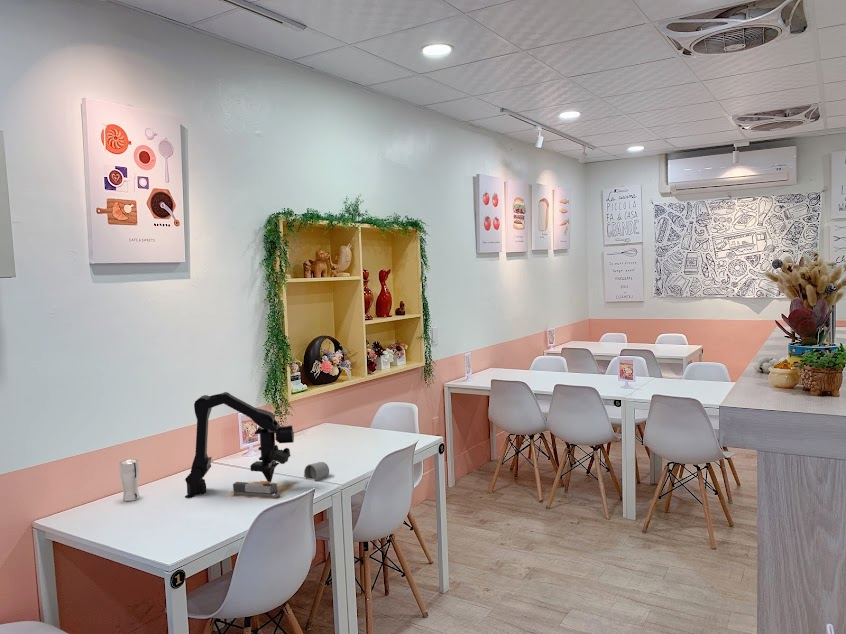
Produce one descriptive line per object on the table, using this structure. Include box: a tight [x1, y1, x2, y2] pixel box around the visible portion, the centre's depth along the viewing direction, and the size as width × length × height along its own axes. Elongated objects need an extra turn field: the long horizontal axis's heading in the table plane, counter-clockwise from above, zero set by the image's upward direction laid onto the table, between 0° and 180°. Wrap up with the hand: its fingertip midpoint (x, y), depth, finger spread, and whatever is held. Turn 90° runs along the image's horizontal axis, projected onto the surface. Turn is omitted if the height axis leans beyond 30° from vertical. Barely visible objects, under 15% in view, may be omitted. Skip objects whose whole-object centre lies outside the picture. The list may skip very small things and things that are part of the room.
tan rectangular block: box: [257, 480, 270, 484], centre depth 256 cm, size 4×3×4 cm
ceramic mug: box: [303, 461, 330, 482], centre depth 273 cm, size 11×8×8 cm
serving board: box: [226, 480, 298, 501], centre depth 259 cm, size 22×18×1 cm
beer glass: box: [119, 458, 140, 502], centre depth 256 cm, size 7×7×15 cm
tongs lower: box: [232, 484, 281, 500], centre depth 252 cm, size 19×4×5 cm, turn 75°
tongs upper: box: [232, 481, 273, 493], centre depth 252 cm, size 16×3×3 cm, turn 75°
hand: (269, 482), depth 260 cm, fingers closed
